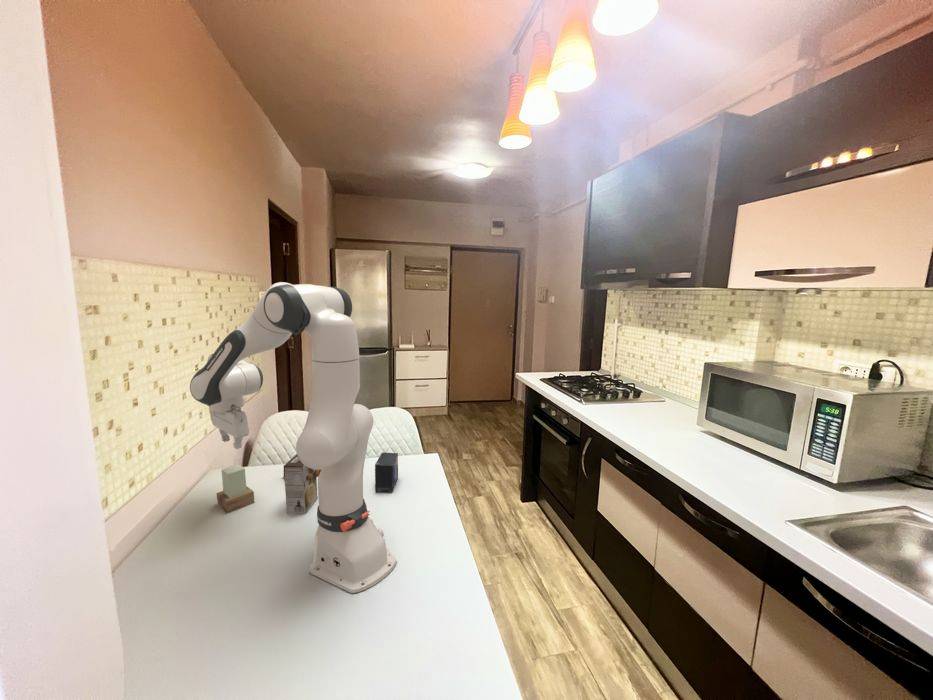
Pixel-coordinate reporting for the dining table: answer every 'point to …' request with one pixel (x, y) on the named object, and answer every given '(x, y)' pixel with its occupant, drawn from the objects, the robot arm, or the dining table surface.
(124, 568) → the dining table surface
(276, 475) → the dining table surface
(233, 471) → the sage block
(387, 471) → the small box
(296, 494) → the coffee box
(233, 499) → the base block
